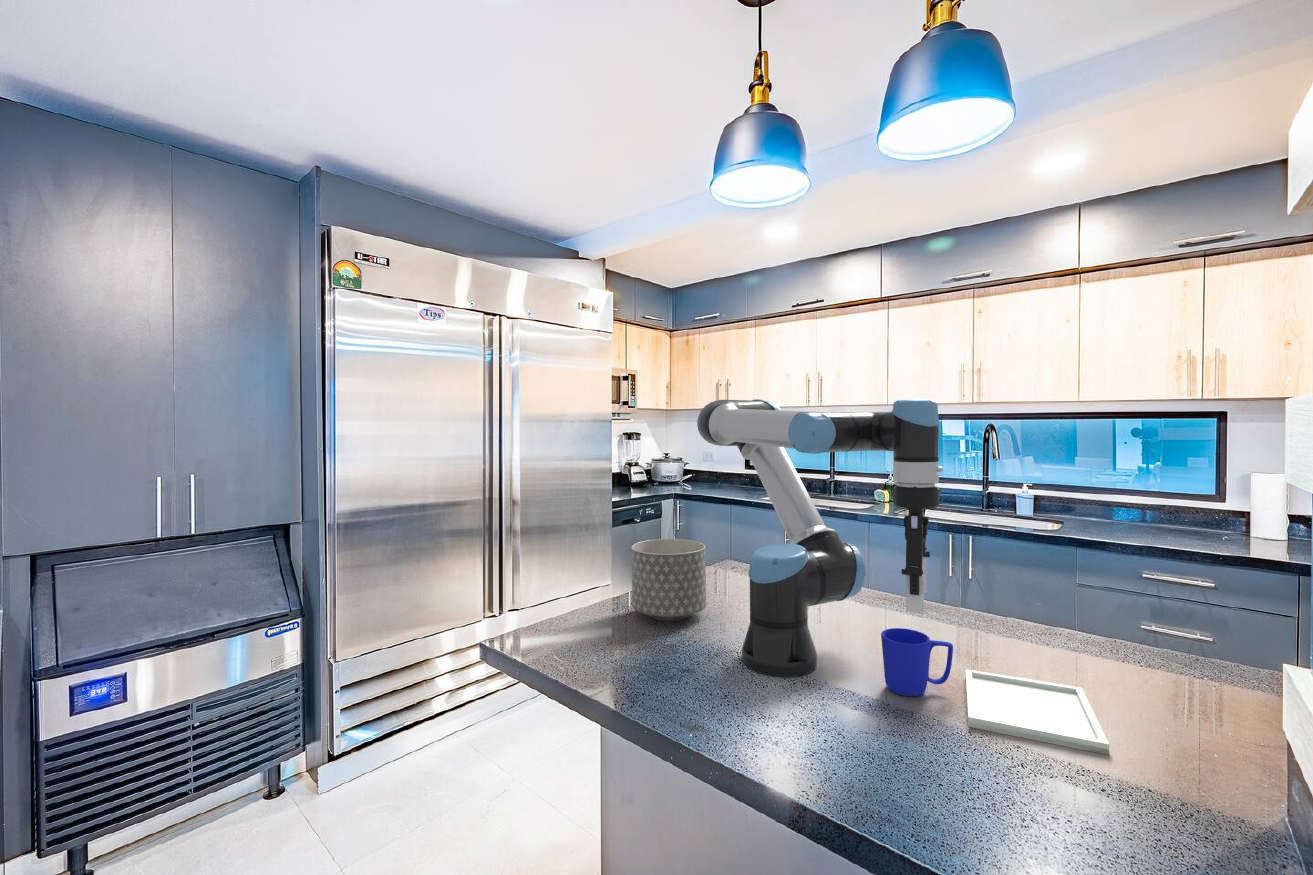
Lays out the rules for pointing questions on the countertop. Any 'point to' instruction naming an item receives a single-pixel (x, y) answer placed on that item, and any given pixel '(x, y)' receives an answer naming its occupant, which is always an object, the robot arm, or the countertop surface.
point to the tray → (1033, 711)
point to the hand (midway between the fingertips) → (916, 601)
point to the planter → (669, 578)
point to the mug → (910, 660)
